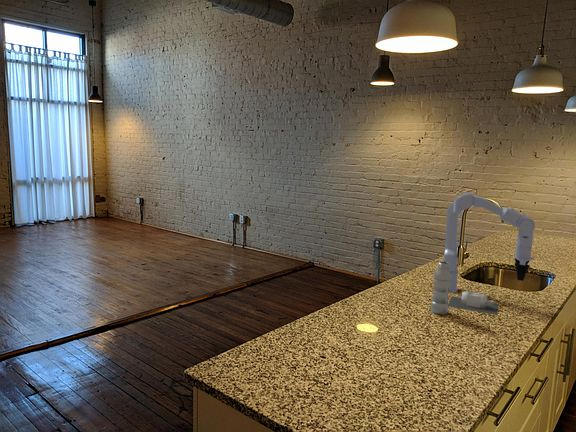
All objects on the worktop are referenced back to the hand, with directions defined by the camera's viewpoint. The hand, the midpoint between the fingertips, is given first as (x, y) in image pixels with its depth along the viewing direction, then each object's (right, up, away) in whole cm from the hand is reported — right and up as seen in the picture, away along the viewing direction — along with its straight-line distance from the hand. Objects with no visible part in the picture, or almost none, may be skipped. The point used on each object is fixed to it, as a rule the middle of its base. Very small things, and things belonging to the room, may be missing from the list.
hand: (520, 278), depth 185 cm
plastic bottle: (-39, -12, -16) cm, 44 cm away
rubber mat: (-22, -10, -6) cm, 25 cm away
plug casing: (-21, -10, -7) cm, 24 cm away
